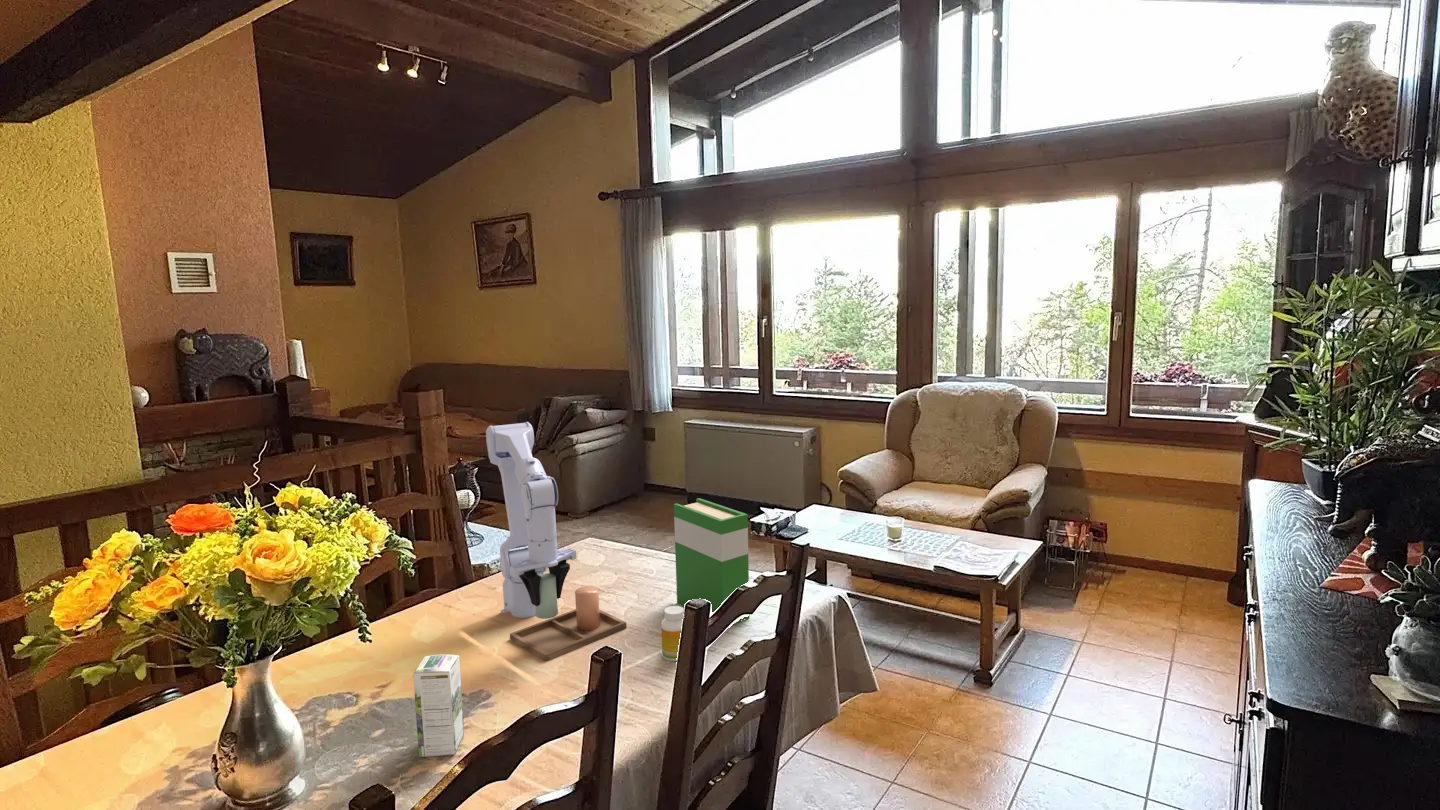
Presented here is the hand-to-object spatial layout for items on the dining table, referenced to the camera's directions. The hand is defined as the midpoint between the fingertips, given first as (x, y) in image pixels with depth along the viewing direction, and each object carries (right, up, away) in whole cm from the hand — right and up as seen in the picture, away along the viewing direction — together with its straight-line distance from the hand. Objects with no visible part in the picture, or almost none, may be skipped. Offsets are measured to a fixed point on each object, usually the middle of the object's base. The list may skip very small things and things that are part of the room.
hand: (546, 600), depth 153 cm
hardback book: (+34, -7, +17) cm, 39 cm away
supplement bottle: (+27, -10, -4) cm, 29 cm away
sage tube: (0, -3, 0) cm, 3 cm away
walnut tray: (+4, -9, +5) cm, 11 cm away
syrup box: (-9, -15, -33) cm, 37 cm away
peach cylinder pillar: (+7, -8, +8) cm, 13 cm away
